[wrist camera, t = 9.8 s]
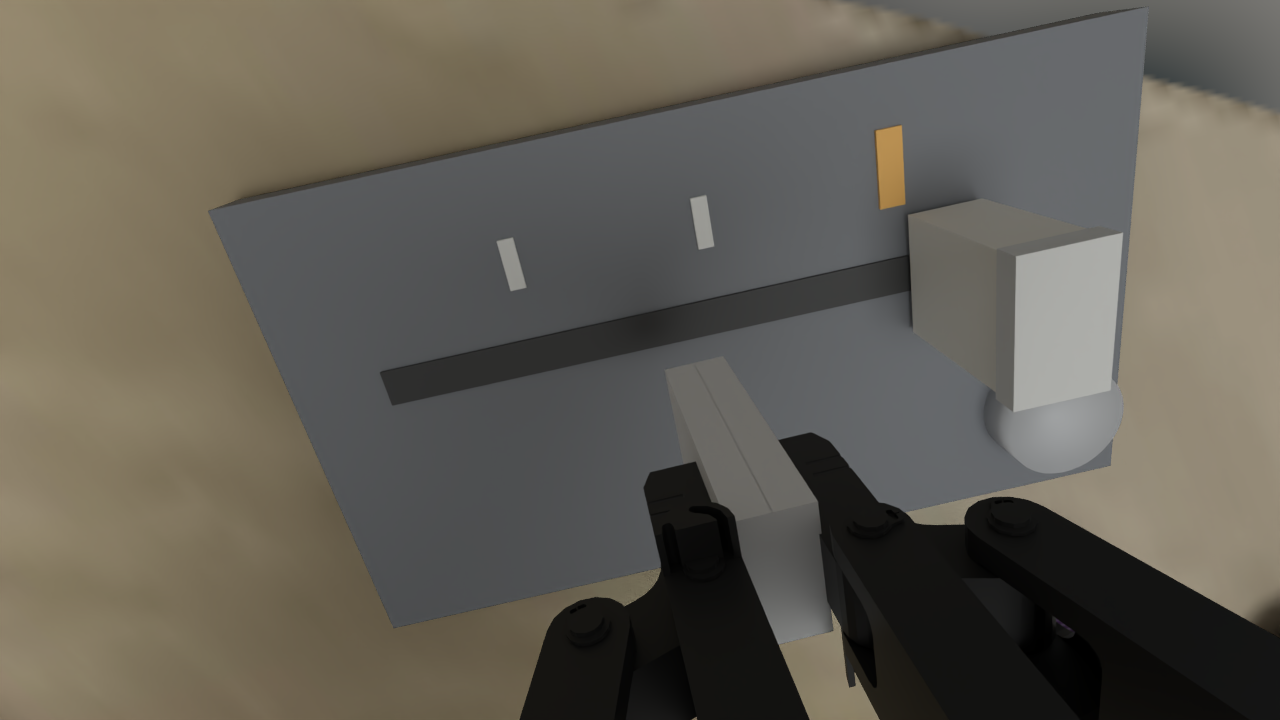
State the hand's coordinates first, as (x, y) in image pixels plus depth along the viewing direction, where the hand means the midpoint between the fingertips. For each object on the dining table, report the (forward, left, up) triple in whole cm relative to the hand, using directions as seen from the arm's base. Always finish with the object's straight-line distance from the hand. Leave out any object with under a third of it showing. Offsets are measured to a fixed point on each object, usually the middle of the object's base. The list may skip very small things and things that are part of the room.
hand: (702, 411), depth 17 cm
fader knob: (+9, 0, -5) cm, 11 cm away
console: (+2, -1, -8) cm, 8 cm away
